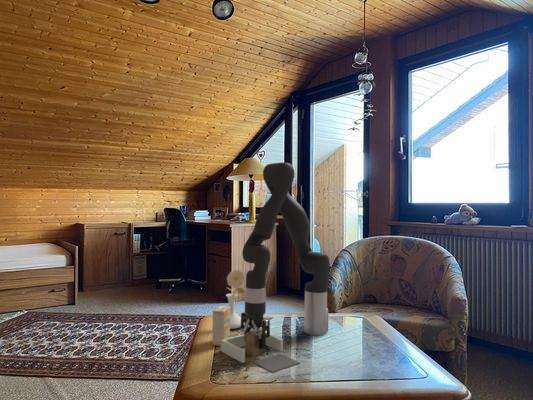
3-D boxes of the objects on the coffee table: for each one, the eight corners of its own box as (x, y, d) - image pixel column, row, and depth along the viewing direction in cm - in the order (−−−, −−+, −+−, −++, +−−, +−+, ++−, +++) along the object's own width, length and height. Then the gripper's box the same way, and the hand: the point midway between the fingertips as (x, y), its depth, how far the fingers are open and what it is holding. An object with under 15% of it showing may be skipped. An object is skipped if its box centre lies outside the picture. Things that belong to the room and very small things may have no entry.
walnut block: (256, 349, 147) (256, 329, 147) (264, 353, 143) (264, 333, 143) (245, 352, 143) (245, 332, 143) (253, 356, 140) (253, 336, 140)
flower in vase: (212, 327, 171) (213, 269, 171) (229, 321, 180) (230, 266, 181) (236, 333, 163) (236, 272, 164) (252, 326, 173) (253, 269, 173)
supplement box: (224, 346, 148) (224, 311, 149) (211, 345, 149) (212, 310, 150) (230, 339, 157) (231, 305, 157) (218, 338, 158) (219, 305, 158)
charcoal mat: (280, 354, 141) (280, 353, 141) (299, 363, 134) (299, 362, 134) (253, 362, 134) (253, 361, 134) (272, 372, 126) (272, 371, 126)
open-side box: (260, 340, 155) (260, 330, 155) (283, 350, 145) (283, 339, 145) (220, 351, 144) (220, 339, 144) (242, 362, 133) (242, 350, 134)
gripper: (276, 302, 140) (275, 348, 140) (251, 294, 151) (251, 338, 151) (259, 305, 135) (258, 353, 135) (235, 297, 146) (234, 341, 146)
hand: (254, 345), depth 143 cm, fingers open, 8 cm apart
